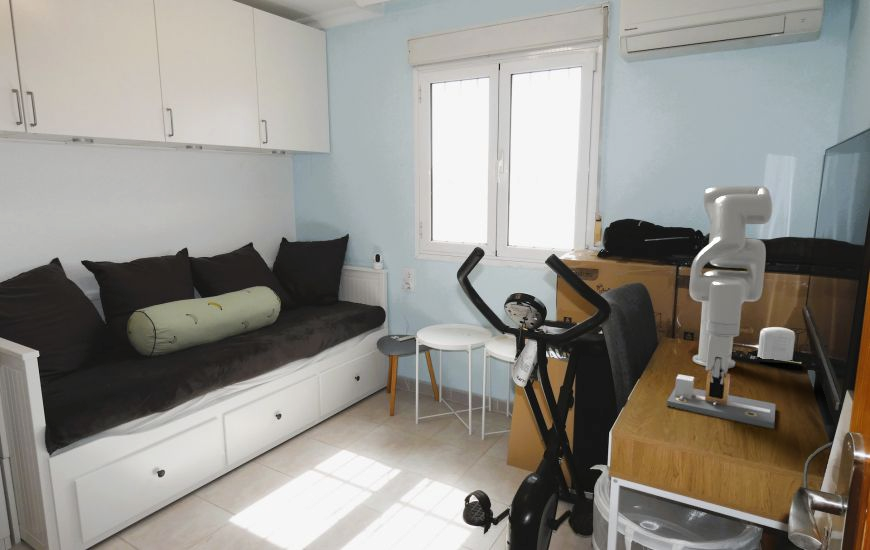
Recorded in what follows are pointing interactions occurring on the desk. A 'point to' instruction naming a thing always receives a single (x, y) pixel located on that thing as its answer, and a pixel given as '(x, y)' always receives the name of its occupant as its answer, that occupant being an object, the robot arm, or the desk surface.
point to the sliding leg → (725, 393)
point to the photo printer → (776, 343)
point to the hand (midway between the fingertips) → (716, 393)
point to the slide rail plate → (721, 405)
